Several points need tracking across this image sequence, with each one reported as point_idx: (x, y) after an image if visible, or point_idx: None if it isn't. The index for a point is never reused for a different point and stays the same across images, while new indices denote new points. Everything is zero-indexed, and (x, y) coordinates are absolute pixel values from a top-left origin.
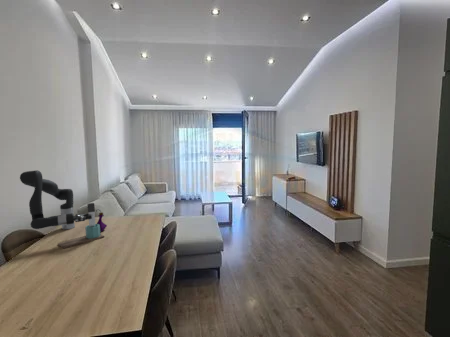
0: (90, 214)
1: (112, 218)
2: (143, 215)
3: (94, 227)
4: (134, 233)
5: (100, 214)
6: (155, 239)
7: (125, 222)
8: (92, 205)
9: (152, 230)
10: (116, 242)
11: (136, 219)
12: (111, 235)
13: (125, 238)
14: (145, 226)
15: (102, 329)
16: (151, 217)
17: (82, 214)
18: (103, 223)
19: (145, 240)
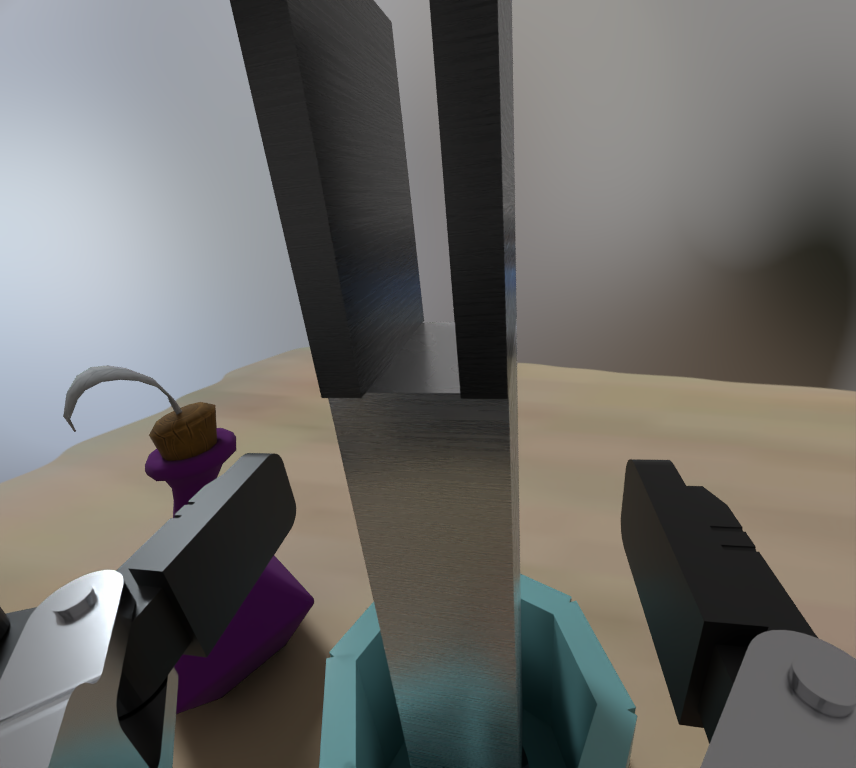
0: (513, 444)
1: (21, 495)
2: (233, 382)
3: (610, 662)
4: (575, 439)
5: (202, 439)
6: (768, 386)
7: (248, 448)
8: (510, 56)
9: (564, 381)
10: (826, 567)
11: (263, 406)
12: (528, 571)
13: None
14: None
15: None
16: (313, 367)
17: (83, 727)
18: None
19: (784, 415)
